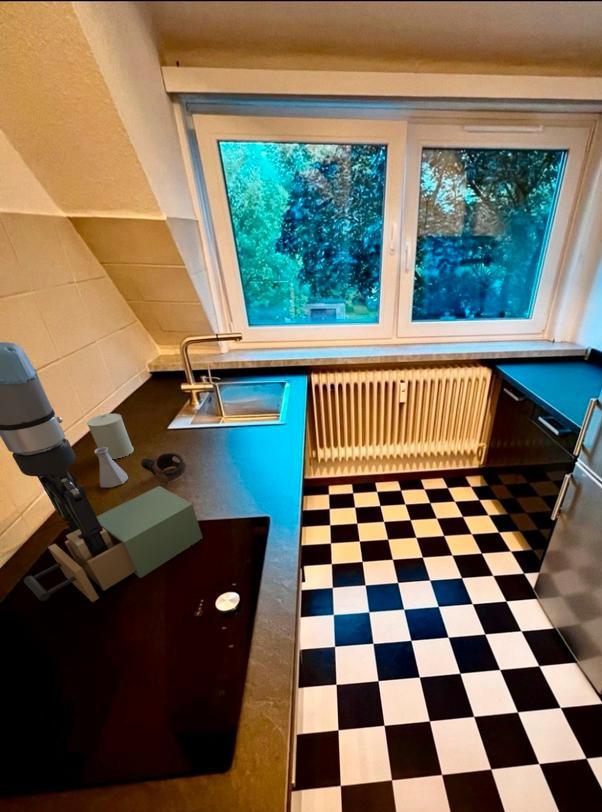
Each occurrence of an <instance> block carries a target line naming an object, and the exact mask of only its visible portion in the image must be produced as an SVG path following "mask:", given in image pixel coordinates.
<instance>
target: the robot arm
mask: <svg viewBox="0 0 602 812" xmlns="http://www.w3.org/2000/svg"><path fill="white" fill-rule="evenodd" d="M62 422H63V418H62V417H61V416H57V415H56V413H55V410H54V409H53V407H52V405H51V402H50V401H49V398H48V396H47V393H46V391H45V389H44V386H43V384H42V382H41V380H40V378H39V375H38V372H37V369H36V368H35V367H34V365H33V364H32V362H31V360H30V359H29V357H28V355H27V353H26V351H25V350H24V349H23V348H22V347H21V346H20V345H19V344H17V343H14V342H7V341H0V438H1V440H2V441H3V443H4V445H5V447H6V449H7V451H9V452H10V453H12V458H13V460H14V462H15V463H16V465H17V467H18V469H19V470H20V472H21V473H22V474H23V475H25V476H28V477H36V478H37V479H38V481H39V483H40V484H41V485H42V487H43V489H44V491H45V493H46V495H47V496H48V498H49V500H50V502H51V504H52V505H53V507H54V509H55V511H56V514H57V515H58V516H60V517H62V520H63V521H64V522H65V523H66V526H67V527H68V529H69V531H70V533H72V532H74V531H76V530H78V529H79V530H80V531H81V534H80V535H78V538H79V539H83V541H84V543H85V544H86V546H87V548H88V550H89V552H90V554H91V556H92V557H93V558H94V557H96V556H98V555H99V554H101V553H103V552H105V551H107V550H108V547H107V545H106V543H105V541H104V539H103V537H102V535H101V533H100V532H101V531H103V529H102V527H101V525H100V523H99V521H98V519H97V515H96V512H95V511H94V509H93V507H92V505H91V503H90V501H89V498H88V497H87V494H86V491H85V488H84V486H83V485H82V484H81V485H78V483H77V482H78V481H77V478H76V476H75V475H74V473H73V472H68V468H69V467H70V466H72V465H73V464H74V463H75V462H76V458H77V457H76V453H75V452H74V450H73V448H72V445H71V444H70V440H68V439H67V438H66V434H65V432H64V430H63V427H62V426H61V425H60V424H61V423H62Z"/></svg>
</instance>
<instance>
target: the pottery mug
mask: <svg viewBox="0 0 602 812" xmlns="http://www.w3.org/2000/svg"><path fill="white" fill-rule="evenodd" d="M173 457H176V458H177V459H178V460H179V461H176V460H174V459H173ZM140 466H141V467H142V468H143V469H144V470H146V471H149V472H150V473H152V475H153V476H156V475H157V476H158V477H160V483H161V484H163V485H168V484H169V482H172V481H174V480H176V479H178V478H179V477H181V476H182V475H183V474H184V472H185V470H186V468H187V467H188V464H187V463H186V462H185V461H184V457H182V456H181V454H179V453H177V452H175V451H164V452H161V453H159V454H157V456H155V458H153V457H145V458H142V459H141V461H140ZM168 468H175V469H172V470H168V471H167V470H166V469H168ZM164 470H166V471H165V473H164V472H163V471H164Z"/></svg>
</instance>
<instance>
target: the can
mask: <svg viewBox="0 0 602 812" xmlns="http://www.w3.org/2000/svg"><path fill="white" fill-rule="evenodd" d="M124 423H125V422H124V420H123V417H122V415H121V414H119V413H104V414H99V415H96V416H93V417H92V418H89V419H88V420H87V421H86V425H87V427H88V429H89V432H90V434H91V436H92V438H93V440H94V442H95V444H96V445H95V446H96V447H97V449H98V448H102V447H107V448H108V454H109V455H110V457H111V458H112V459H116V460H118V459H117V458H121V459H123V458H122V457H124V458H126V457H128V456H130V455H131V454H133V453H134V449H135V448H134V446H133V445H132V442H131V440H130V437H129V434H128V432H127V429H126V426H125V424H124ZM129 454H130V455H129ZM125 456H126V457H125Z"/></svg>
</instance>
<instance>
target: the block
mask: <svg viewBox="0 0 602 812" xmlns="http://www.w3.org/2000/svg"><path fill="white" fill-rule="evenodd" d="M102 529H103V528H102ZM100 533H101V535H102V537H103V539H104V541H105V543H106V545H107V547H108V549H110V548H112V547H114V545H113V543H112V541H111V539H110V537H109V535H108V533H107V531H106V530H105V529H103V531H101V532H100ZM80 534H81V531H80V530H79V529H78V530H76V531H74V532H72V533H71V532H69V533H68V534H66V535H65V538H67V540H69V542H70V544H71V546H72V547H73V549H74V551H75V553H76V554H77V556H79V557H80V558H81V559H82V560H83V561H84V562H85V563H87V564H88V562H87V561H89V560H90V559H92V558H93V557H92V556H91V554H90V552H89V550H88V548H87V546H86V544H85V543H84V541H83V539H79V538H78V535H80ZM88 565H89V564H88Z"/></svg>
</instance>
